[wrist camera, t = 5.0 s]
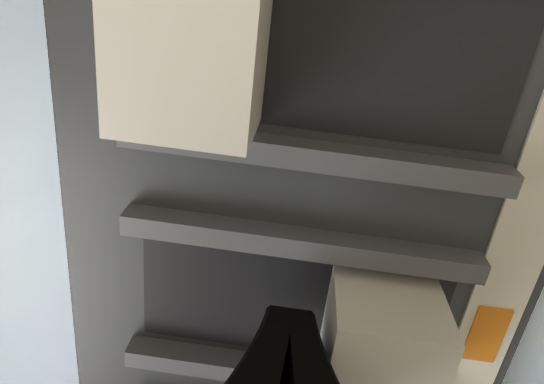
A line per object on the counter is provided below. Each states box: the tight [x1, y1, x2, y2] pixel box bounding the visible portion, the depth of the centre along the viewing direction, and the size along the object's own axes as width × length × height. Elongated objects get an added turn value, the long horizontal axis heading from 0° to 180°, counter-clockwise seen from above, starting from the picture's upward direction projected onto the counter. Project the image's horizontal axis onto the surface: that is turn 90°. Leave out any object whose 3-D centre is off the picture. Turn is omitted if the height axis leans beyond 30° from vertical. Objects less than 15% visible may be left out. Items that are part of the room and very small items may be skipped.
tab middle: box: [320, 265, 466, 384], centre depth 13 cm, size 3×4×3 cm
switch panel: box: [43, 0, 544, 384], centre depth 15 cm, size 14×21×2 cm, turn 174°
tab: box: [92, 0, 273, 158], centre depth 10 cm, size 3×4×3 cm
